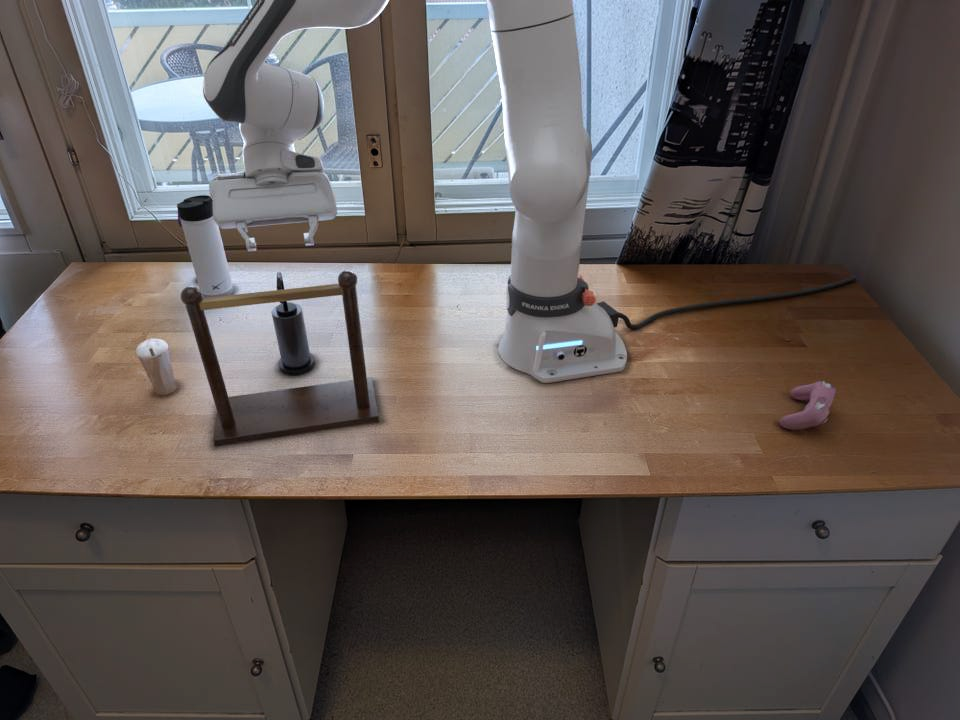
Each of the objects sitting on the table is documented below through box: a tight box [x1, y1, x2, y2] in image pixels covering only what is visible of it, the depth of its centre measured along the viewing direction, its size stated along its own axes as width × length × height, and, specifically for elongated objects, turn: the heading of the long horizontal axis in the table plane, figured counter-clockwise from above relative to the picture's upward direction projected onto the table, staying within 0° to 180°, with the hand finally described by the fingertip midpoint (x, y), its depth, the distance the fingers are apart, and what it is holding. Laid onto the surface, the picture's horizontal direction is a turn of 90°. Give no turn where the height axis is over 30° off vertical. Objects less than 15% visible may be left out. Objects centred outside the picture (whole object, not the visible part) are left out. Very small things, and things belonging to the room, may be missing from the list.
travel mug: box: [176, 194, 235, 298], centre depth 125 cm, size 6×7×20 cm
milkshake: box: [135, 337, 178, 396], centre depth 102 cm, size 4×5×10 cm
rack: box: [180, 269, 380, 447], centre depth 94 cm, size 10×24×25 cm, turn 104°
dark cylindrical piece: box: [271, 271, 316, 377], centre depth 105 cm, size 8×6×18 cm
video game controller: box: [779, 380, 837, 431], centre depth 100 cm, size 10×5×7 cm, turn 148°
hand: (280, 247), depth 109 cm, fingers open, 8 cm apart
